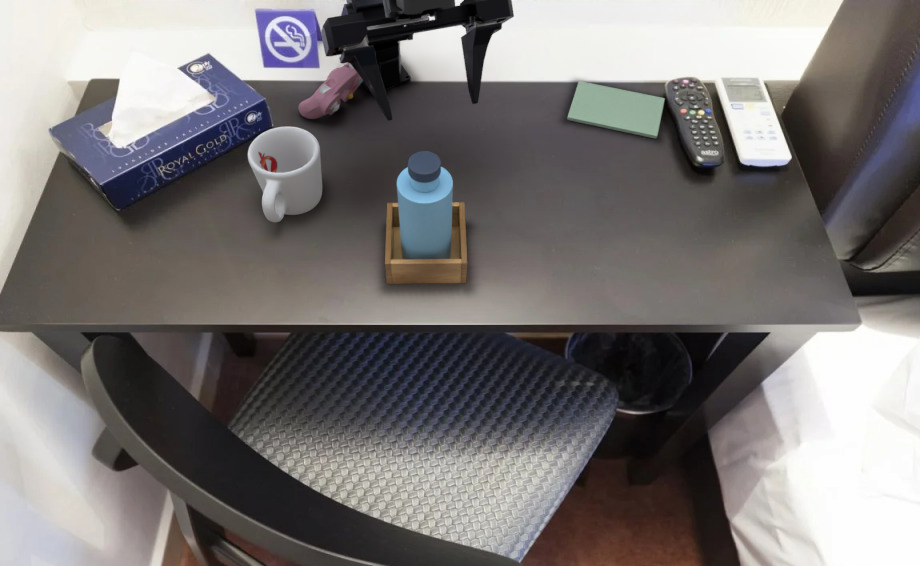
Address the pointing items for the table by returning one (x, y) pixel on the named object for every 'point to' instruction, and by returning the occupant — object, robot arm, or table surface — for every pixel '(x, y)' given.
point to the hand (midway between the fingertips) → (433, 111)
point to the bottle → (425, 208)
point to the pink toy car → (331, 92)
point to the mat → (616, 109)
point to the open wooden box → (426, 268)
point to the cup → (287, 171)
